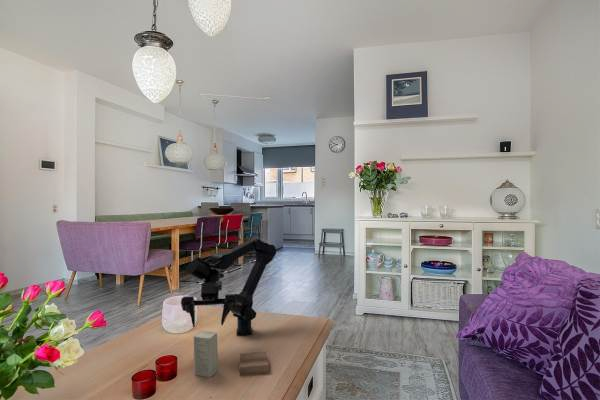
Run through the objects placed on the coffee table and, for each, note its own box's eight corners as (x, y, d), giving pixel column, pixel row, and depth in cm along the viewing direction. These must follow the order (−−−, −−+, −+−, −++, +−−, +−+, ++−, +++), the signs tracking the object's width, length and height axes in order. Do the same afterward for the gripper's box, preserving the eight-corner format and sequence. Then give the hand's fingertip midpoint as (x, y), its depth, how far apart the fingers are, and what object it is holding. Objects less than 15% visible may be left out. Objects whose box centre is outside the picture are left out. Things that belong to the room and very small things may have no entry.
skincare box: (218, 371, 103) (218, 332, 103) (210, 378, 98) (210, 338, 98) (201, 367, 105) (201, 330, 105) (193, 374, 100) (193, 335, 101)
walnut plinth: (239, 361, 109) (239, 354, 109) (266, 359, 110) (266, 351, 110) (239, 375, 100) (239, 367, 100) (268, 372, 101) (268, 364, 101)
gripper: (181, 273, 112) (174, 316, 101) (236, 271, 115) (235, 312, 104) (186, 290, 120) (180, 331, 109) (237, 287, 123) (236, 328, 112)
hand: (207, 325), depth 108 cm, fingers open, 9 cm apart
